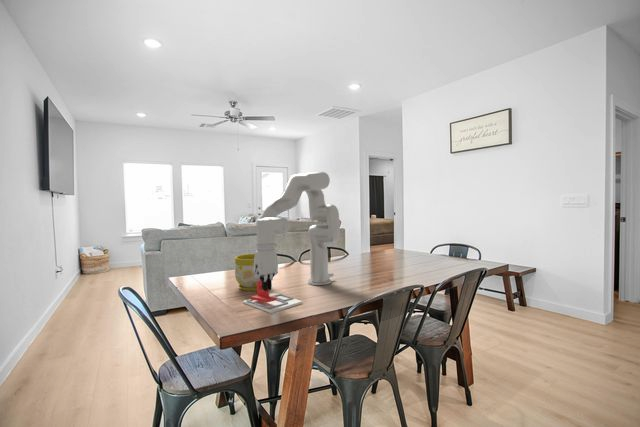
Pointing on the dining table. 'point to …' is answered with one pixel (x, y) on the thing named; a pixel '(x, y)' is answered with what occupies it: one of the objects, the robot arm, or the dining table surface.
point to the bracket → (262, 294)
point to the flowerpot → (246, 272)
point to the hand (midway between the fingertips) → (266, 289)
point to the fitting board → (274, 303)
